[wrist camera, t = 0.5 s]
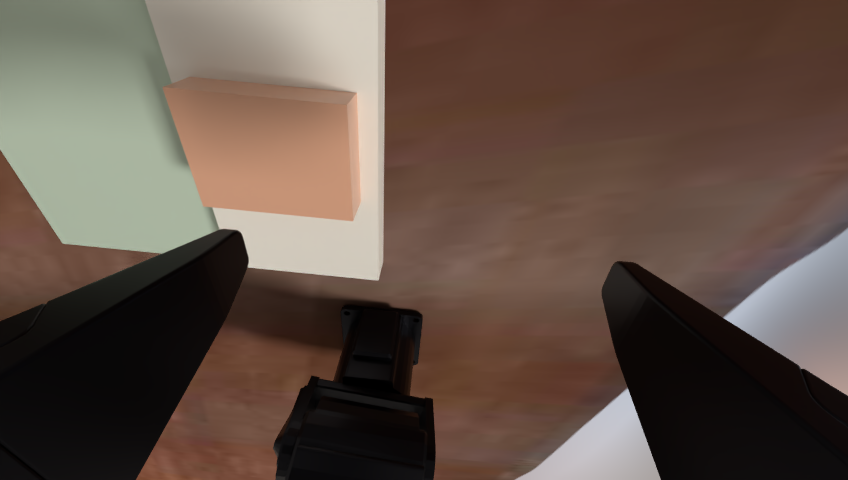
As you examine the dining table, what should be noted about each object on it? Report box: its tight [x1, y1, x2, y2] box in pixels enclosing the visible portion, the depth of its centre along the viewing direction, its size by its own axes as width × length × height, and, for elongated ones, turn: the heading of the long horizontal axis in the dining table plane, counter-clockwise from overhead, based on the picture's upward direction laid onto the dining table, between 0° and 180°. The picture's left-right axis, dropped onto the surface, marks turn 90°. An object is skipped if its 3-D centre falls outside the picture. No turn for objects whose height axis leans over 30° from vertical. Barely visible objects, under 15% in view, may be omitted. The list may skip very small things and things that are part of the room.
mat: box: [0, 0, 219, 253], centre depth 20 cm, size 20×13×1 cm, turn 176°
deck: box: [145, 0, 385, 280], centre depth 20 cm, size 18×10×2 cm, turn 176°
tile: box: [162, 77, 361, 221], centre depth 18 cm, size 6×8×2 cm
